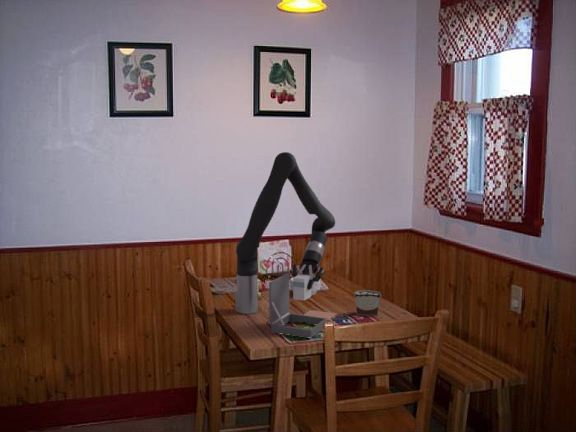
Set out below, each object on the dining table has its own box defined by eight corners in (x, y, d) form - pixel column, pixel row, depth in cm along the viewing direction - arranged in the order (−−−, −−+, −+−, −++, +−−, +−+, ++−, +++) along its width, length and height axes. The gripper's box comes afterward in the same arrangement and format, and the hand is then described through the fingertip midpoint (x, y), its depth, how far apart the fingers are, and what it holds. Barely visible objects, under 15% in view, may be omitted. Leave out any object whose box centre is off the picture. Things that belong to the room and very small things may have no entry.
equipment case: (269, 332, 266) (269, 282, 263) (287, 320, 282) (287, 273, 278) (311, 339, 258) (311, 287, 255) (327, 326, 274) (327, 277, 271)
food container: (380, 311, 295) (381, 290, 294) (381, 315, 289) (381, 293, 288) (353, 310, 296) (353, 289, 295) (353, 314, 290) (353, 293, 289)
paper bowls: (302, 288, 335) (302, 273, 334) (326, 293, 326) (326, 278, 324) (283, 294, 324) (283, 279, 322) (307, 300, 314) (307, 284, 313)
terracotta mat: (295, 320, 282) (295, 319, 282) (310, 310, 296) (310, 310, 296) (323, 324, 276) (323, 323, 276) (337, 314, 291) (337, 313, 291)
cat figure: (266, 302, 315) (264, 285, 339) (266, 285, 313) (264, 269, 337) (245, 302, 314) (245, 285, 339) (245, 285, 312) (245, 269, 337)
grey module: (292, 299, 268) (292, 278, 266) (300, 294, 274) (300, 274, 273) (304, 300, 266) (304, 279, 264) (311, 296, 272) (311, 275, 271)
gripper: (295, 247, 278) (283, 281, 269) (326, 250, 272) (315, 285, 263) (300, 257, 284) (289, 291, 275) (331, 260, 278) (320, 294, 269)
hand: (302, 288), depth 269 cm, fingers closed on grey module, 5 cm apart
